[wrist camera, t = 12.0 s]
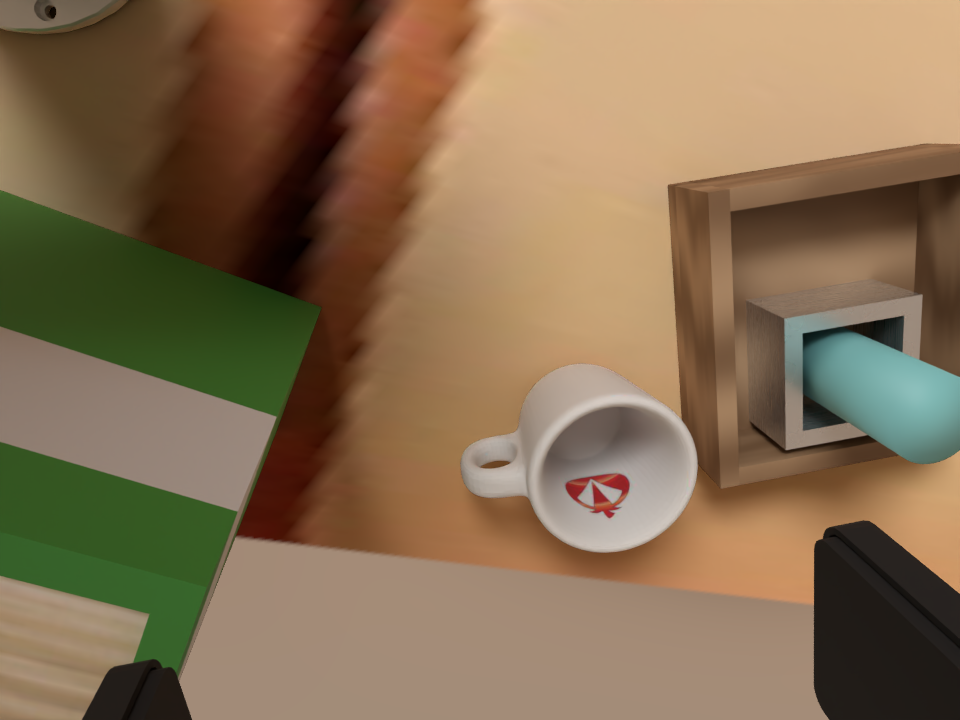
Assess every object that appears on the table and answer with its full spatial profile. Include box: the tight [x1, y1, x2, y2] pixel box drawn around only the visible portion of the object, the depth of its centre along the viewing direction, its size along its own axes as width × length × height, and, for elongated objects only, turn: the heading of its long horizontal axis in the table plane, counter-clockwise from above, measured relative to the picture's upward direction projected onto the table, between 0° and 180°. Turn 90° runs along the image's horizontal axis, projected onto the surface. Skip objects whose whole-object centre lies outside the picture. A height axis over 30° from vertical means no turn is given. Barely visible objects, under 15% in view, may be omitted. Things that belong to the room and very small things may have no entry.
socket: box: [746, 279, 923, 450], centre depth 38 cm, size 7×7×4 cm
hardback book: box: [0, 190, 322, 720], centre depth 25 cm, size 18×7×24 cm, turn 67°
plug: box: [802, 327, 960, 464], centre depth 35 cm, size 4×4×10 cm
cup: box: [460, 364, 698, 553], centre depth 36 cm, size 11×8×8 cm
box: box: [668, 144, 960, 489], centre depth 37 cm, size 15×14×5 cm
